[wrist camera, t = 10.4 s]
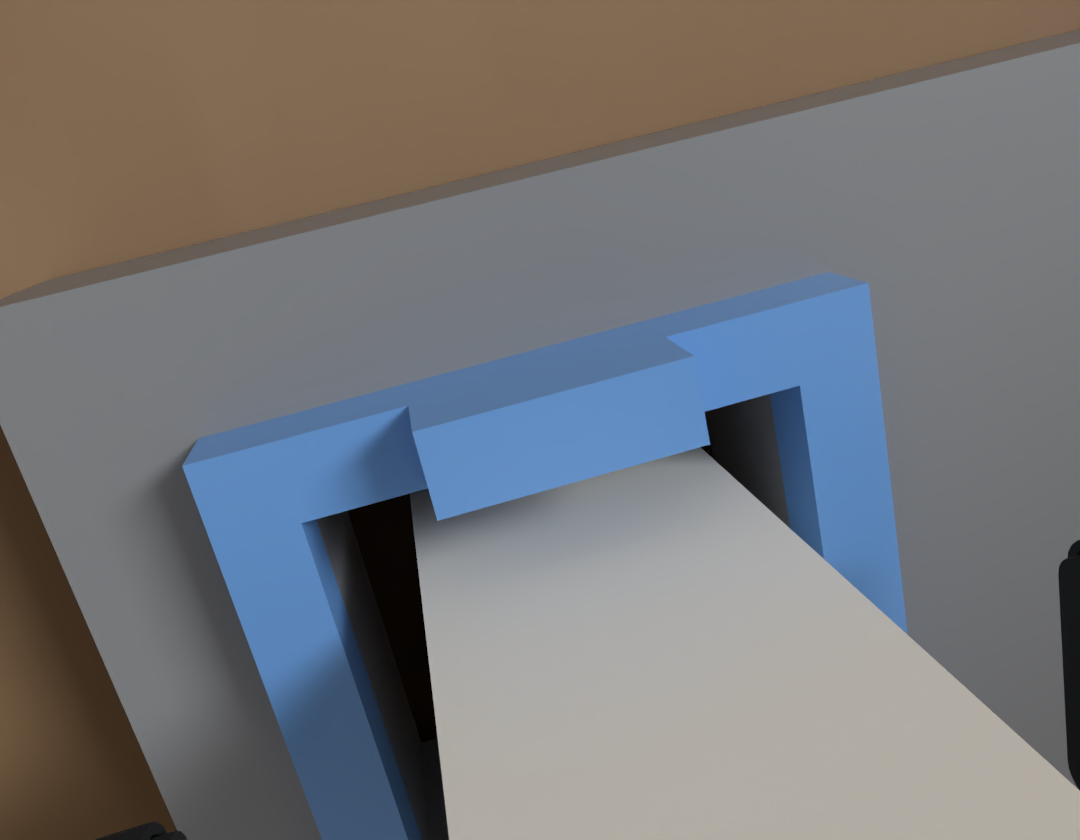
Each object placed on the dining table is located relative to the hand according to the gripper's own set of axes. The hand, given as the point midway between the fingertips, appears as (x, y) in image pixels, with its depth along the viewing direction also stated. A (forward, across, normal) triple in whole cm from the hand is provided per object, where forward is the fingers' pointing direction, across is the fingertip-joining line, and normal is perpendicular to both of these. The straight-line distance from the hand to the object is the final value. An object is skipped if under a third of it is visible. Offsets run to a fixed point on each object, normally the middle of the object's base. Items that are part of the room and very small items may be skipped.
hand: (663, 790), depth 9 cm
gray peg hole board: (+6, -6, 0) cm, 9 cm away
